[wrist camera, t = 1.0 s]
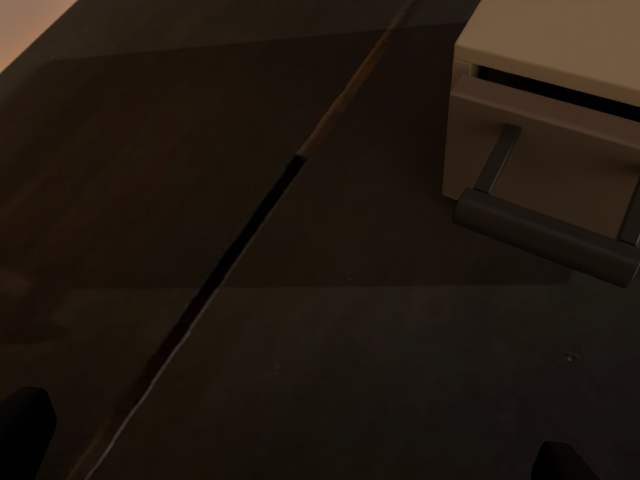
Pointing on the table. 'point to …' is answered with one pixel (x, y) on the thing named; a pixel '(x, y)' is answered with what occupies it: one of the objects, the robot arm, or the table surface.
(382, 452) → the table surface
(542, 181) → the pull-out drawer box
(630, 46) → the beige drawer cabinet
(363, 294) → the table surface
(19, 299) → the table surface
